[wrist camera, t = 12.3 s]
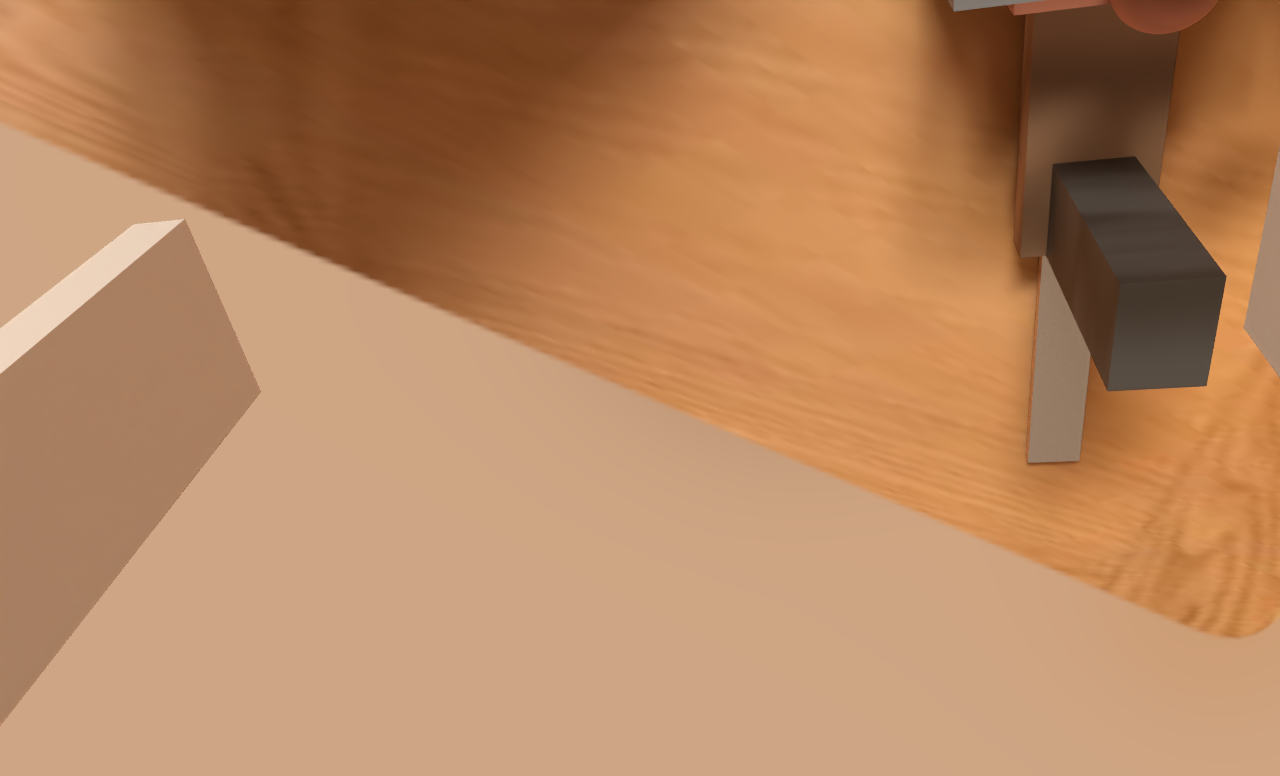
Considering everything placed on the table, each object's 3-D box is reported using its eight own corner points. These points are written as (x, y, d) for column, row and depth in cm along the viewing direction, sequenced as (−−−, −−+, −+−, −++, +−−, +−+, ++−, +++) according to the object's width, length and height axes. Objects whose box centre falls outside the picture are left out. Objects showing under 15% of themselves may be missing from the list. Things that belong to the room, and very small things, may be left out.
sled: (1178, 228, 41) (1291, 381, 32) (977, 243, 43) (1027, 395, 33) (1232, -137, 34) (1400, -79, 25) (987, -101, 36) (1056, -34, 26)
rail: (1025, 455, 50) (1027, 462, 49) (1048, 125, 41) (1051, 130, 40) (1076, 453, 49) (1079, 460, 49) (1111, 118, 40) (1115, 123, 40)
